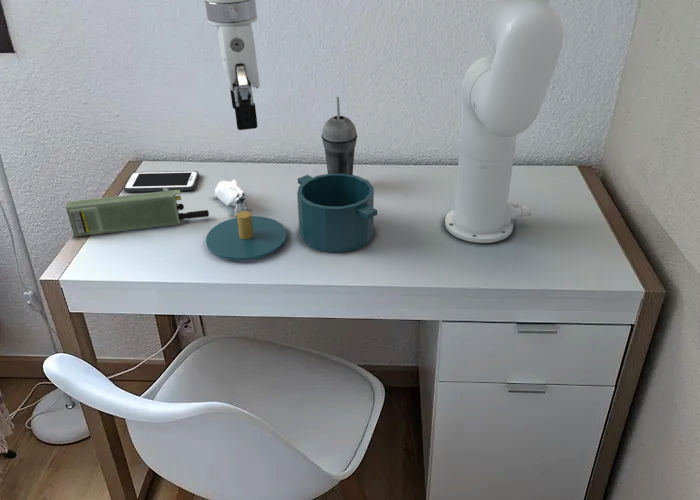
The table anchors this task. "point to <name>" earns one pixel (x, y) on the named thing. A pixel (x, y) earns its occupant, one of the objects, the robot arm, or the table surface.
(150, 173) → the cell phone
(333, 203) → the teal cooking pot
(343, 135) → the beverage cup
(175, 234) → the table surface
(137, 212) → the handheld radio
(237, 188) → the white tied bag
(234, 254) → the lid
